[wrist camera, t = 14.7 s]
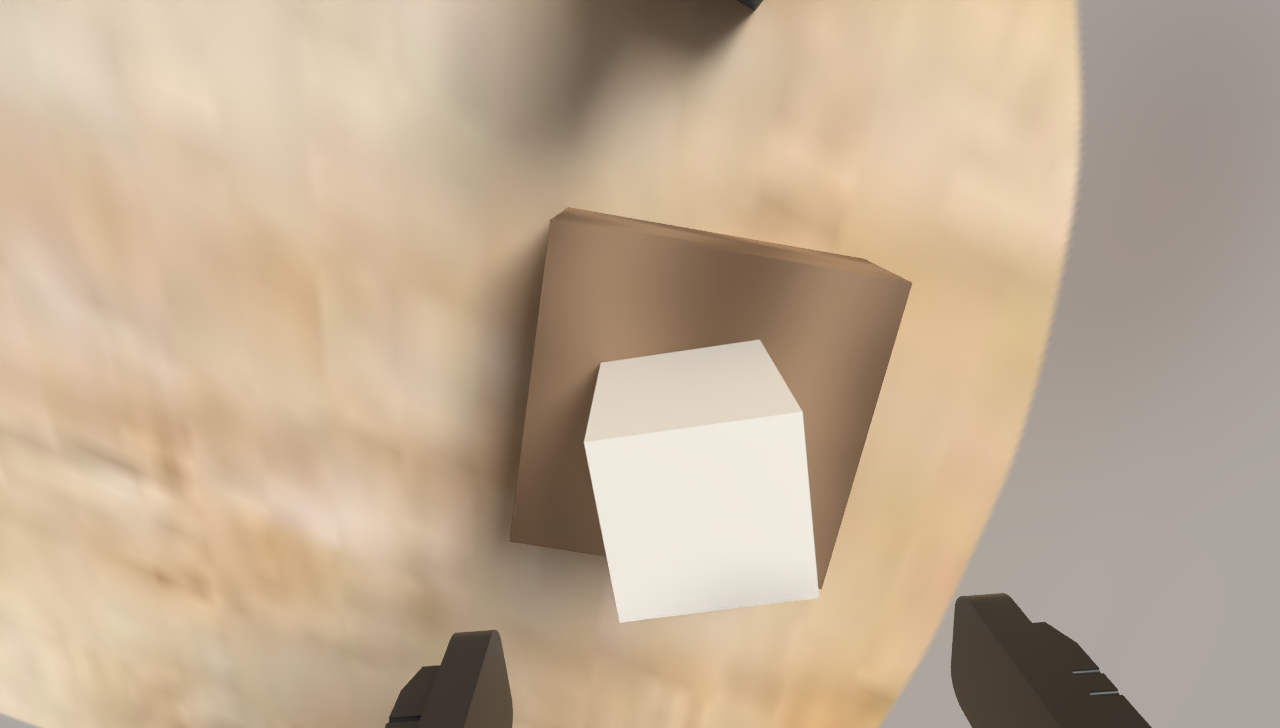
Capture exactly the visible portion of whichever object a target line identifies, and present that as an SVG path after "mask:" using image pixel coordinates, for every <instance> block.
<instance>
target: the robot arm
mask: <svg viewBox="0 0 1280 728" xmlns="http://www.w3.org/2000/svg"><path fill="white" fill-rule="evenodd" d="M951 676H952V682H953V687H954V691H955V694H956V697H957V700H958V702H959V705H960V707H961V709H962V710H963V712H964V714H965V716H966V717H967V719H968V721H969V723H970V724H971V726H972V728H1151V726H1150V725H1149V724H1148V723H1147V722H1146V721H1145V720H1144V718H1142V716H1141V715H1140V714H1139V713H1138V712H1137V711H1136V709H1135V708H1134V707H1133V706H1132V705H1131V704H1130V703H1129V702H1128V700H1127V699H1126V698H1125V697H1124V696H1123V695H1119V693H1118V689H1117V688H1116V687H1115V686H1114V684H1112V682H1111V681H1110V680H1109V679H1108V678H1107V677H1106V675H1105V674H1104V673H1103V674H1101V673H1100V671H1099V667H1098V666H1097V665H1096V664H1095V663H1094V662H1093V661H1092V660H1091V658H1090V657H1089V656H1088V655H1087V654H1086V653H1085V652H1084V651H1083V649H1082V648H1081V647H1080V646H1079V645H1078V644H1077V643H1076V642H1075V641H1073V640H1072V639H1070V638H1069V637H1067V636H1065V635H1064V634H1062V633H1061V632H1059V631H1058V630H1056V629H1055V628H1053V627H1052V626H1050V625H1048V624H1047V623H1046V622H1040V623H1032V622H1031V621H1030V620H1029V619H1028V618H1027V616H1026V615H1025V614H1024V613H1023V612H1022V611H1021V609H1020V608H1019V607H1018V606H1017V604H1016V603H1015V602H1014V601H1013V599H1012V598H1011V597H1010V596H1008V595H1007V594H1004V593H1000V594H986V595H973V596H961V597H959V598H958V599H957V601H956V604H955V614H954V628H953V644H952V658H951ZM512 722H513V708H512V698H511V692H510V686H509V681H508V676H507V670H506V665H505V659H504V654H503V648H502V643H501V638H500V635H499V633H498V631H497V630H489V631H476V632H463V633H455V634H453V636H452V637H451V639H450V642H449V645H448V647H447V650H446V652H445V655H444V658H443V660H442V663H441V665H440V666H426V667H422V668H421V669H420V670H419V672H418V673H417V674H416V675H415V676H414V677H413V678H412V679H411V680H410V681H409V682H408V684H407V685H406V686H405V687H404V688H403V689H402V690H401V692H400V694H399V696H398V699H397V701H396V703H395V705H394V708H393V710H392V712H391V715H390V717H389V723H387V724H386V726H385V728H512Z"/></svg>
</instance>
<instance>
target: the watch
mask: <svg viewBox="0 0 1280 728" xmlns="http://www.w3.org/2000/svg"><path fill="white" fill-rule="evenodd" d="M738 1H740V2H742V3H743V4H745V5H747V6H748V7H750V8H752V9H754V10H756V9H757V7H758V6H759V5H760V3H761V2H762V1H763V0H738Z"/></svg>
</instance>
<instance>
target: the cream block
mask: <svg viewBox="0 0 1280 728" xmlns="http://www.w3.org/2000/svg"><path fill="white" fill-rule="evenodd" d="M584 445H585V450H586V456H587V461H588V466H589V471H590V476H591V481H592V486H593V491H594V496H595V501H596V506H597V511H598V516H599V521H600V526H601V531H602V537H603V542H604V547H605V552H606V557H607V562H608V567H609V572H610V577H611V582H612V587H613V592H614V597H615V602H616V607H617V612H618V618H619V623H621V622H629V621H637V620H645V619H653V618H661V617H669V616H677V615H685V614H694V613H702V612H710V611H718V610H726V609H734V608H742V607H750V606H758V605H766V604H774V603H782V602H790V601H798V600H806V599H814V598H819V591H818V580H817V568H816V557H815V546H814V534H813V523H812V512H811V500H810V489H809V478H808V467H807V455H806V444H805V433H804V421H803V411H802V410H801V408H800V406H799V405H798V403H797V401H796V400H795V398H794V396H793V395H792V393H791V391H790V390H789V388H788V386H787V385H786V383H785V381H784V379H783V378H782V376H781V374H780V373H779V371H778V369H777V368H776V366H775V364H774V363H773V361H772V359H771V358H770V356H769V354H768V353H767V351H766V349H765V347H764V346H763V344H762V342H761V341H760V339H759V340H753V341H746V342H739V343H732V344H725V345H718V346H712V347H705V348H698V349H691V350H684V351H678V352H671V353H664V354H657V355H650V356H643V357H637V358H630V359H623V360H616V361H609V362H602V363H601V364H600V369H599V373H598V378H597V383H596V387H595V392H594V397H593V402H592V406H591V411H590V416H589V421H588V425H587V430H586V435H585V439H584Z"/></svg>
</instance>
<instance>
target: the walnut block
mask: <svg viewBox="0 0 1280 728" xmlns="http://www.w3.org/2000/svg"><path fill="white" fill-rule="evenodd" d="M911 285H912V282H910V281H907V280H905V279H903V278H901V277H899V276H897V275H895V274H893V273H891V272H889V271H887V270H885V269H883V268H881V267H879V266H877V265H875V264H873V263H871V262H869V261H867V260H865V259H861V258H855V257H850V256H844V255H838V254H832V253H827V252H821V251H815V250H809V249H804V248H798V247H792V246H787V245H781V244H775V243H769V242H764V241H758V240H752V239H746V238H741V237H735V236H729V235H723V234H718V233H712V232H706V231H700V230H695V229H689V228H683V227H677V226H672V225H666V224H660V223H654V222H649V221H643V220H637V219H632V218H626V217H620V216H614V215H609V214H603V213H597V212H591V211H586V210H580V209H574V208H567V209H565V210H564V211H562V212H561V213H560V214H558V215H557V216H555V217H554V218H553V219H551V220H550V227H549V235H548V243H547V250H546V258H545V266H544V274H543V282H542V290H541V297H540V305H539V313H538V321H537V329H536V337H535V345H534V352H533V360H532V368H531V376H530V384H529V392H528V399H527V407H526V415H525V423H524V431H523V439H522V446H521V454H520V462H519V470H518V478H517V486H516V493H515V501H514V509H513V517H512V525H511V533H510V541H511V542H517V543H524V544H530V545H537V546H543V547H550V548H556V549H563V550H569V551H576V552H582V553H589V554H595V555H602V556H606V552H605V547H604V542H603V537H602V531H601V526H600V521H599V516H598V511H597V506H596V501H595V496H594V491H593V486H592V481H591V476H590V471H589V466H588V461H587V456H586V450H585V445H584V439H585V435H586V430H587V425H588V421H589V416H590V411H591V406H592V402H593V397H594V392H595V387H596V383H597V378H598V373H599V369H600V364H601V363H602V362H609V361H616V360H623V359H630V358H637V357H643V356H650V355H657V354H664V353H671V352H678V351H684V350H691V349H698V348H705V347H712V346H718V345H725V344H732V343H739V342H746V341H753V340H759V339H760V341H761V342H762V344H763V346H764V347H765V349H766V351H767V353H768V354H769V356H770V358H771V359H772V361H773V363H774V364H775V366H776V368H777V369H778V371H779V373H780V374H781V376H782V378H783V379H784V381H785V383H786V385H787V386H788V388H789V390H790V391H791V393H792V395H793V396H794V398H795V400H796V401H797V403H798V405H799V406H800V408H801V410H802V411H803V421H804V433H805V444H806V455H807V467H808V478H809V489H810V500H811V512H812V523H813V534H814V546H815V557H816V568H817V580H818V589H822V586H823V582H824V579H825V576H826V572H827V569H828V566H829V562H830V559H831V555H832V552H833V549H834V545H835V542H836V539H837V535H838V532H839V528H840V525H841V522H842V518H843V515H844V511H845V508H846V505H847V501H848V498H849V495H850V491H851V488H852V484H853V481H854V478H855V474H856V471H857V468H858V464H859V461H860V457H861V454H862V451H863V447H864V444H865V441H866V437H867V434H868V430H869V427H870V424H871V420H872V417H873V414H874V410H875V407H876V403H877V400H878V397H879V393H880V390H881V387H882V383H883V380H884V376H885V373H886V370H887V366H888V363H889V359H890V356H891V353H892V349H893V346H894V343H895V339H896V336H897V332H898V329H899V326H900V322H901V319H902V316H903V312H904V309H905V305H906V302H907V299H908V295H909V292H910V289H911Z"/></svg>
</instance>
